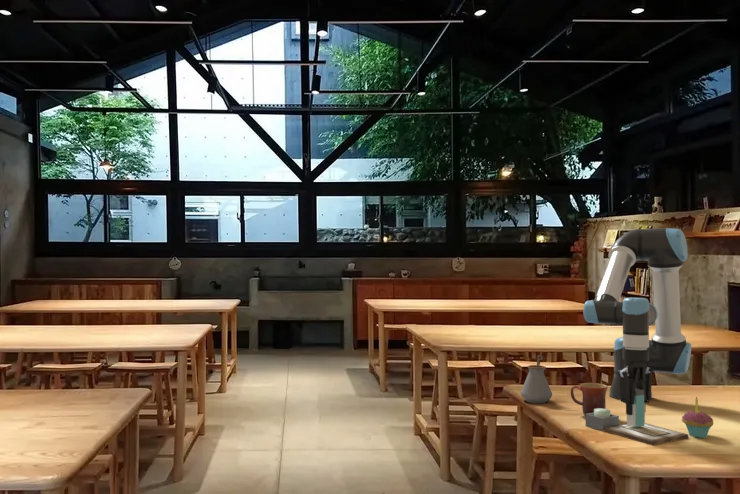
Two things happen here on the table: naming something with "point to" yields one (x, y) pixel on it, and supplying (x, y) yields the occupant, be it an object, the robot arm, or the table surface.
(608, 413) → the button
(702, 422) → the donut
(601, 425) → the button frame
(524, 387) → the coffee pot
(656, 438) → the picture frame
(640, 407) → the grey and mint block
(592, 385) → the mug
